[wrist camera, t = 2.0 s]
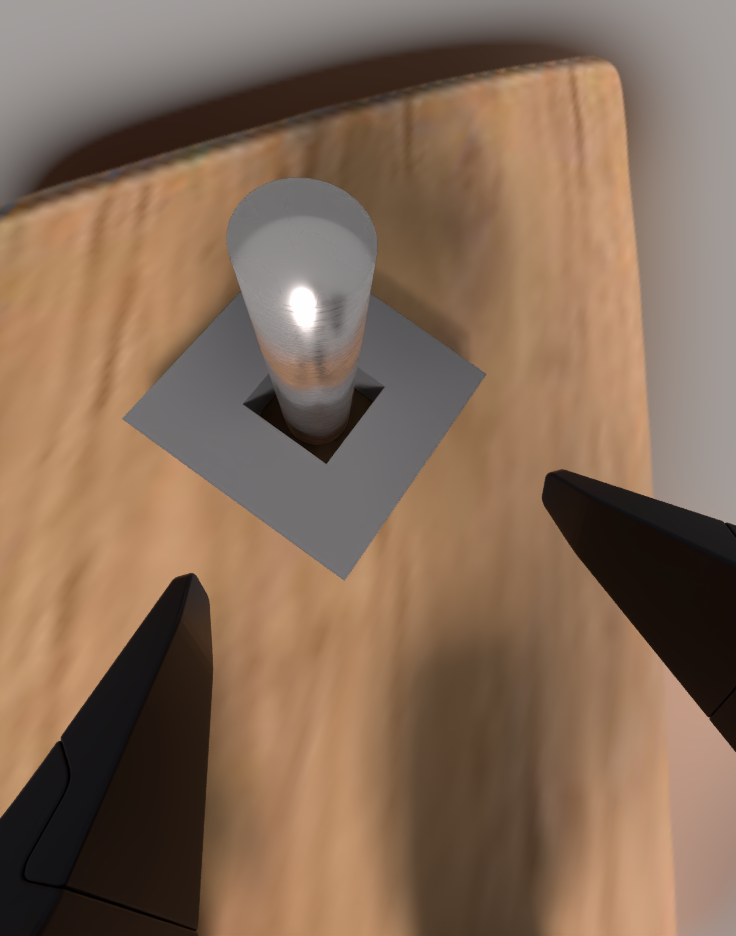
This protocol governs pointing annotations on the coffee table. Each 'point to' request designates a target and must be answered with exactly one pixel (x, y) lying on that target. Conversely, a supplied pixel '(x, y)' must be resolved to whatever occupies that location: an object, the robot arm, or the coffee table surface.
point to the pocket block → (283, 460)
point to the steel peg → (306, 295)
